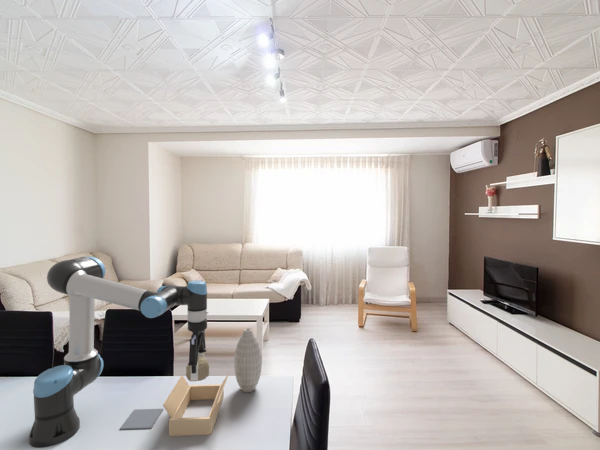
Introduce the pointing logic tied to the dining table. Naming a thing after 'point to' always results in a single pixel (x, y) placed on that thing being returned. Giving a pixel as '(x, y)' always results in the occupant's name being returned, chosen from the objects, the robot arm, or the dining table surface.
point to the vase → (247, 361)
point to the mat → (142, 419)
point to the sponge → (199, 369)
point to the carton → (180, 401)
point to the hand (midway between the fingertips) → (197, 374)
